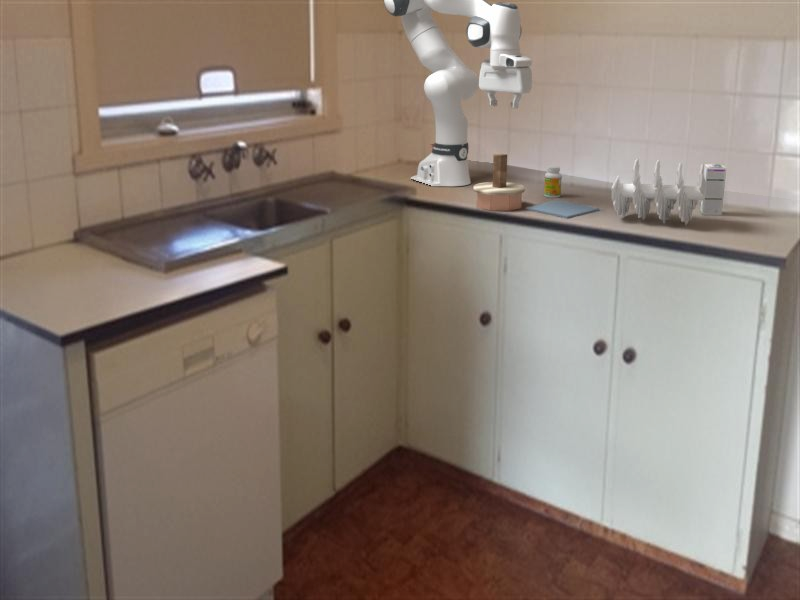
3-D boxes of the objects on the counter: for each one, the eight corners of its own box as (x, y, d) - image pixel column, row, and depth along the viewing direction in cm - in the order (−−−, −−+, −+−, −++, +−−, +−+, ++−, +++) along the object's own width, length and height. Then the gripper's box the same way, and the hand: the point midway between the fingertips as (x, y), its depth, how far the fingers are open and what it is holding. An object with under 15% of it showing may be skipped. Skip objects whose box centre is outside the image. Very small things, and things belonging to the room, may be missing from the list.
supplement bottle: (541, 196, 284) (543, 167, 281) (546, 193, 288) (548, 164, 285) (557, 198, 282) (559, 168, 278) (562, 195, 286) (564, 166, 283)
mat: (525, 209, 266) (525, 207, 266) (557, 202, 276) (557, 200, 276) (567, 218, 255) (567, 216, 255) (599, 210, 265) (599, 208, 265)
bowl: (467, 205, 272) (468, 189, 270) (496, 199, 280) (497, 183, 279) (500, 212, 262) (501, 196, 260) (529, 206, 271) (530, 190, 269)
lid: (462, 189, 270) (463, 154, 267) (497, 182, 280) (498, 148, 277) (501, 197, 259) (502, 160, 255) (535, 190, 269) (537, 154, 265)
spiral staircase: (617, 226, 262) (703, 231, 251) (605, 212, 246) (697, 216, 235) (624, 168, 264) (710, 170, 253) (613, 150, 248) (704, 151, 237)
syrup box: (722, 216, 257) (727, 167, 253) (701, 215, 259) (706, 166, 254) (719, 211, 263) (725, 164, 258) (698, 211, 264) (704, 163, 259)
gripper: (474, 59, 265) (473, 105, 269) (520, 61, 249) (518, 110, 253) (490, 58, 268) (489, 104, 273) (536, 60, 252) (534, 108, 257)
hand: (503, 107), depth 263 cm, fingers open, 8 cm apart
